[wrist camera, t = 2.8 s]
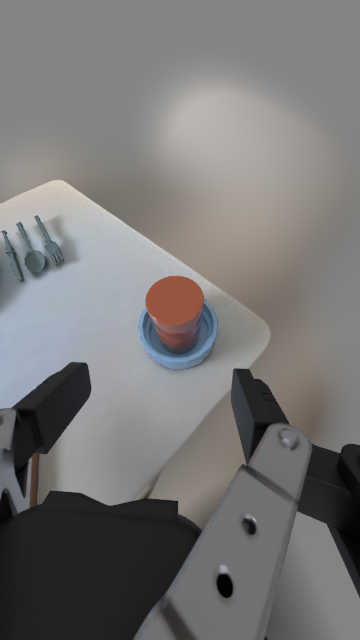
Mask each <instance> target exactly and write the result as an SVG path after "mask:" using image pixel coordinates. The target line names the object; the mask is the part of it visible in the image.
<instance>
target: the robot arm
mask: <svg viewBox="0 0 360 640" xmlns="http://www.w3.org/2000/svg"><path fill="white" fill-rule="evenodd" d="M90 393H91V382H90V376H89V370H88V365H87V364H86V363H81V362H71V363H69V364H68V365H67V366H66V367H64V368H63V369H62V370H61V371H59V372H57V373H55V374H53V375H51V376H50V377H48V378H47V379H46V380H45V381H43V382H42V384H40V385H39V386H37V387H36V389H34V390H33V391H31V392H30V393H29V394H28V395H27V396H25V397H24V398H23V399H22V400H20V401H19V402H18V403H17V404H16V405H14V406H13V407H12V408H4V409H0V640H268V639H267V637H266V636H265V633H266V629H267V625H268V621H269V617H270V614H271V610H272V606H273V602H274V598H275V594H276V590H277V586H278V582H279V578H280V575H281V570H282V566H283V563H284V559H285V555H286V551H287V547H288V543H289V539H290V535H291V532H292V528H293V524H294V520H295V516H296V512H297V511H298V512H301V513H303V514H305V515H308V516H310V517H312V518H314V519H317V520H319V521H321V522H324V523H326V524H327V526H328V528H329V530H330V532H331V534H332V537H333V539H334V541H335V543H336V545H337V548H338V550H339V552H340V555H341V557H342V559H343V561H344V563H345V566H346V568H347V570H348V572H349V574H350V577H351V579H352V581H353V584H354V586H355V588H356V590H357V592H358V594H359V597H360V445H356V444H347V445H345V446H344V447H343V448H342V449H341V453H337V452H334V451H331V450H328V449H325V448H321V447H318V446H315V445H313V444H311V443H310V441H309V439H308V438H307V436H306V435H305V434H304V433H302V432H301V431H300V430H298V429H297V428H295V427H293V426H291V425H290V424H289V422H288V420H287V419H286V417H285V415H284V413H283V412H282V410H281V408H280V407H279V405H278V403H277V401H276V399H275V398H274V396H273V395H272V392H271V390H270V389H269V387H268V386H267V385H266V384H265V383H264V382H263V381H262V380H260V379H254V378H253V377H252V374H251V372H250V370H249V369H235V368H234V370H233V378H232V389H231V403H232V408H233V412H234V416H235V420H236V424H237V428H238V432H239V436H240V440H241V444H242V448H243V451H244V456H245V460H246V464H247V466H245V465H244V464H243V465H241V467H240V468H239V469H238V471H237V473H236V474H235V476H234V478H233V480H232V482H231V483H230V485H229V487H228V488H227V490H226V492H225V493H224V495H223V497H222V499H221V500H220V502H219V504H218V505H217V507H216V509H215V511H214V513H213V514H212V516H211V518H210V519H209V521H208V523H207V524H206V526H205V528H204V530H203V531H202V530H201V529H200V528H199V527H198V526H197V525H196V524H195V523H193V522H192V521H191V520H189V519H187V518H186V517H184V516H182V515H180V514H178V501H170V500H160V499H147V498H145V499H140V500H136V501H131V502H127V503H122V504H118V505H113V506H108V505H105V504H103V503H101V502H99V501H97V500H94V499H92V498H90V497H88V496H86V495H84V494H82V493H74V492H62V491H50V492H49V493H48V495H47V497H46V498H45V500H44V501H43V503H42V504H40V505H37V506H34V507H31V508H29V500H30V483H31V466H32V463H31V459H30V458H31V457H32V456H33V454H34V453H39V454H47V453H48V452H49V450H50V449H51V448H52V446H53V445H54V444H55V442H56V441H57V440H58V438H59V437H60V436H61V434H62V433H63V432H64V430H65V429H66V428H67V426H68V425H69V424H70V422H71V421H72V420H73V418H74V417H75V416H76V414H77V413H78V412H79V410H80V409H81V408H82V406H83V405H84V404H85V402H86V401H87V400H88V398H89V396H90Z"/></svg>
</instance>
